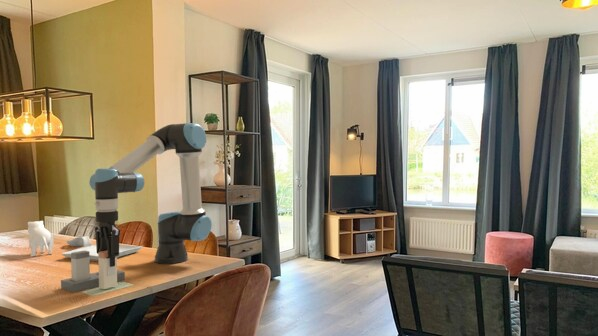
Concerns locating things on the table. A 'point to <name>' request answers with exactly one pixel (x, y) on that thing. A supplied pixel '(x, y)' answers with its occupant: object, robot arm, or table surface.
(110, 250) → the robot arm
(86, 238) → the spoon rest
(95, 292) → the green mat
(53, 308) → the table surface
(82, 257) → the grey plug
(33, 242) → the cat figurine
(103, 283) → the cream plug
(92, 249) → the square plate
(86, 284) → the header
